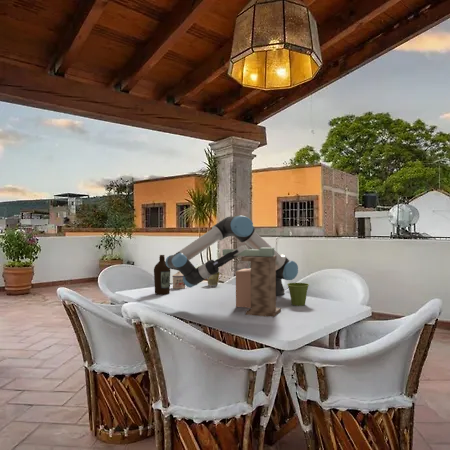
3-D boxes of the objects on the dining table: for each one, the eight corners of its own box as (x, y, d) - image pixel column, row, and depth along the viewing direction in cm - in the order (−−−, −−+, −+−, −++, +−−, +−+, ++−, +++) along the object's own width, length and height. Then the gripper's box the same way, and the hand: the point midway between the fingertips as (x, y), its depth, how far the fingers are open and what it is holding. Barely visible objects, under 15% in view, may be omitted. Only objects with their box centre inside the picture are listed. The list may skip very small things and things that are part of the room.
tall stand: (241, 314, 185) (241, 257, 185) (250, 308, 198) (250, 255, 198) (273, 317, 179) (273, 257, 179) (280, 310, 192) (280, 255, 192)
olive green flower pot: (203, 286, 276) (203, 272, 277) (210, 284, 285) (210, 270, 285) (219, 287, 270) (218, 273, 270) (225, 285, 279) (225, 271, 279)
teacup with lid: (174, 289, 262) (174, 272, 262) (170, 287, 270) (170, 271, 270) (191, 288, 267) (191, 271, 267) (186, 286, 276) (186, 270, 276)
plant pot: (283, 303, 210) (282, 283, 210) (301, 301, 215) (300, 282, 215) (295, 307, 199) (295, 286, 200) (313, 305, 204) (313, 284, 204)
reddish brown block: (235, 306, 203) (235, 271, 204) (244, 301, 216) (244, 268, 217) (261, 308, 198) (260, 272, 198) (268, 303, 211) (268, 269, 211)
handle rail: (221, 255, 194) (221, 247, 194) (226, 254, 199) (226, 247, 199) (271, 256, 184) (271, 248, 184) (274, 255, 189) (274, 247, 189)
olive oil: (150, 293, 246) (150, 255, 246) (164, 291, 253) (164, 254, 253) (160, 295, 238) (159, 255, 238) (173, 293, 245) (173, 254, 245)
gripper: (218, 273, 207) (254, 252, 199) (205, 277, 191) (243, 254, 183) (212, 261, 208) (247, 240, 201) (198, 264, 192) (235, 241, 185)
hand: (245, 247), depth 192 cm, fingers closed on handle rail, 4 cm apart
